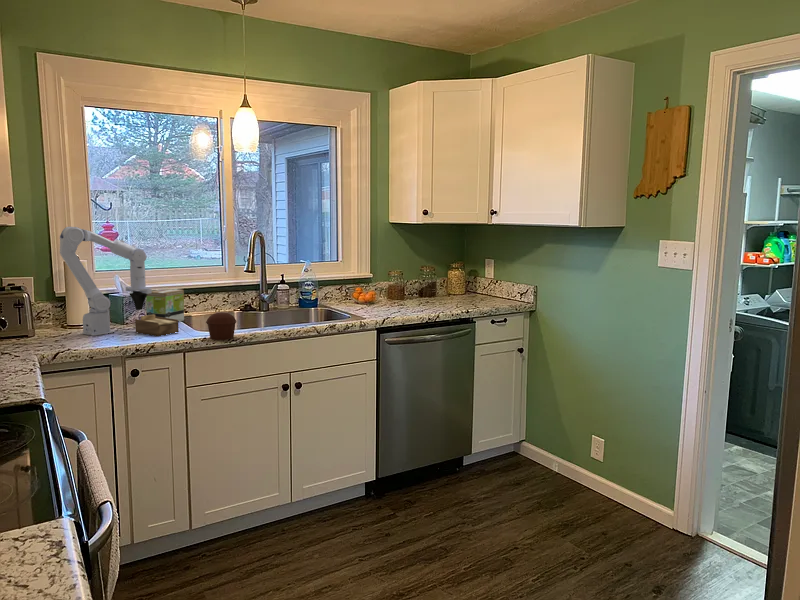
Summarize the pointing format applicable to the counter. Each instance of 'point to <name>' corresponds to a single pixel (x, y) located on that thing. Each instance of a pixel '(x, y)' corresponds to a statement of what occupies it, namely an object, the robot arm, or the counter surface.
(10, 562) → the counter surface
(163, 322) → the lid
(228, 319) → the muffin
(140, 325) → the box
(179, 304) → the tea box
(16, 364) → the counter surface
